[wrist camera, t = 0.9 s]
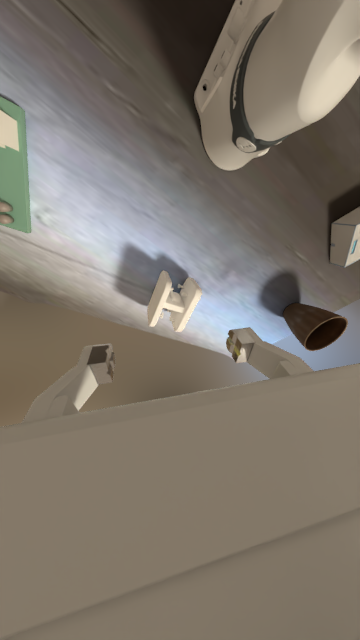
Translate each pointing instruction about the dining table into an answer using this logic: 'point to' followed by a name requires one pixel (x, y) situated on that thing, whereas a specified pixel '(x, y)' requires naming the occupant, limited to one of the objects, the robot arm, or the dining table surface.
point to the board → (14, 175)
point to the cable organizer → (173, 301)
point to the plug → (8, 132)
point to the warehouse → (345, 239)
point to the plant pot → (314, 325)
